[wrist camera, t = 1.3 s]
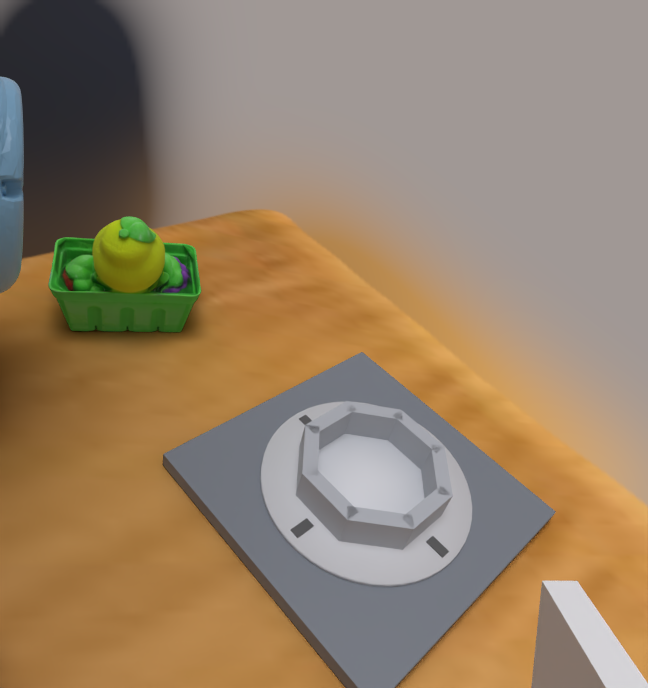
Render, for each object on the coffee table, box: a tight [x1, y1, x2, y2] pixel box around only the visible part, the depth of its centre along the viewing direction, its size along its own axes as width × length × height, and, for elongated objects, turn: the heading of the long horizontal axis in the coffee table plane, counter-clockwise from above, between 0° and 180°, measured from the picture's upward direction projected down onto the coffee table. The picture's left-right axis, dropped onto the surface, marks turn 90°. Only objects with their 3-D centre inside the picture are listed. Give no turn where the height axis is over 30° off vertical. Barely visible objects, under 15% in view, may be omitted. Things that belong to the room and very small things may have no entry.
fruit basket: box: [49, 217, 201, 332], centre depth 48 cm, size 11×9×11 cm
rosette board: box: [163, 352, 555, 688], centre depth 41 cm, size 20×20×4 cm
